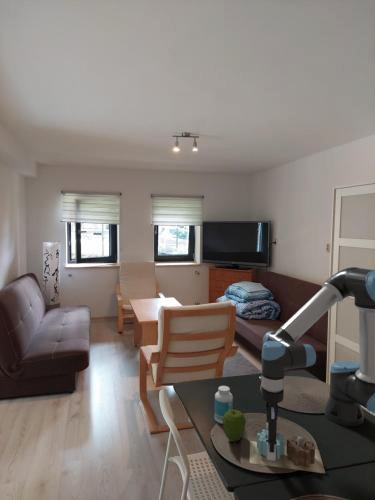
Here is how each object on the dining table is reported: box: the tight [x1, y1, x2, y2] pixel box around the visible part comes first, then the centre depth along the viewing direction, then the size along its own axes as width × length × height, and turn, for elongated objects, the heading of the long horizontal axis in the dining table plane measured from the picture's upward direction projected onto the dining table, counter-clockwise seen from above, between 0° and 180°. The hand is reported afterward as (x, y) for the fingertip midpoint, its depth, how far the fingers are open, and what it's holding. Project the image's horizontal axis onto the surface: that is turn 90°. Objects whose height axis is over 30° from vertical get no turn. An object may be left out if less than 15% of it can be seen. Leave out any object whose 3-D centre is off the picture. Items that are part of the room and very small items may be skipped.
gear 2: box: [286, 435, 316, 467], centre depth 118 cm, size 9×9×5 cm
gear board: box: [249, 434, 326, 474], centre depth 119 cm, size 24×12×8 cm, turn 79°
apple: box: [222, 409, 247, 443], centre depth 129 cm, size 9×8×12 cm
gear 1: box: [256, 428, 286, 459], centre depth 120 cm, size 9×9×5 cm
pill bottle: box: [214, 385, 234, 425], centre depth 143 cm, size 8×7×14 cm
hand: (270, 450), depth 120 cm, fingers closed on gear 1, 9 cm apart
